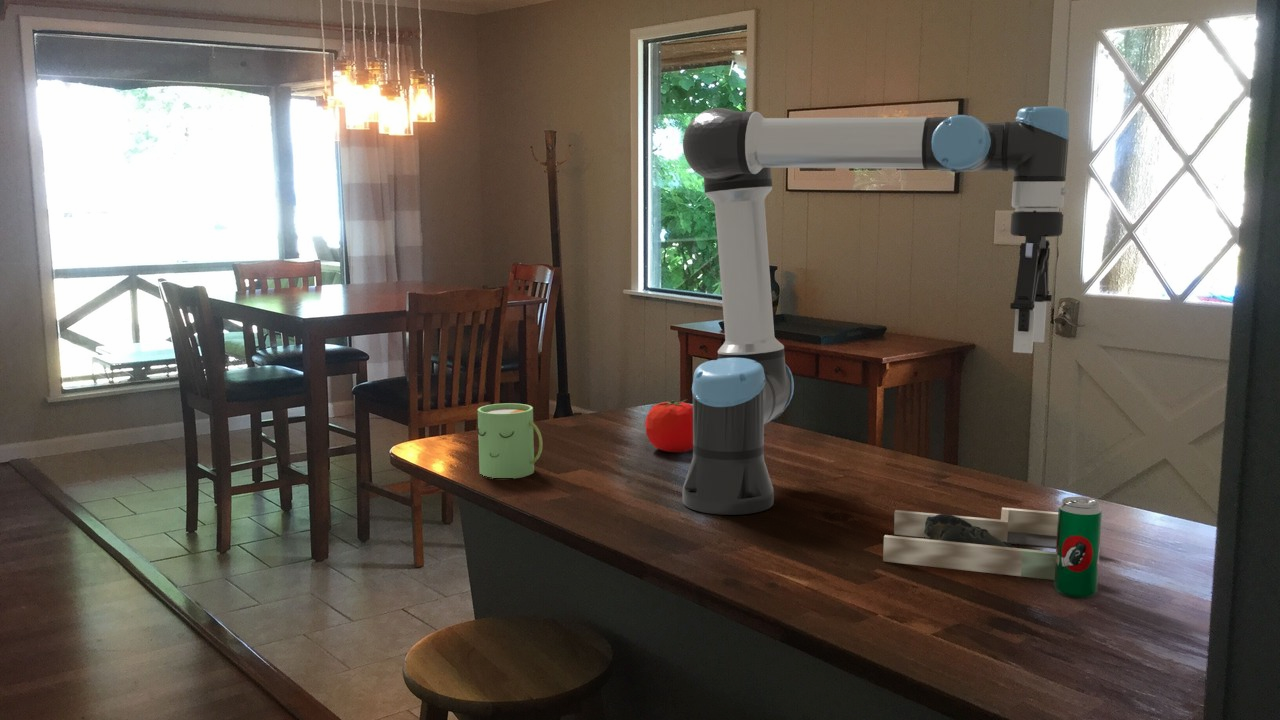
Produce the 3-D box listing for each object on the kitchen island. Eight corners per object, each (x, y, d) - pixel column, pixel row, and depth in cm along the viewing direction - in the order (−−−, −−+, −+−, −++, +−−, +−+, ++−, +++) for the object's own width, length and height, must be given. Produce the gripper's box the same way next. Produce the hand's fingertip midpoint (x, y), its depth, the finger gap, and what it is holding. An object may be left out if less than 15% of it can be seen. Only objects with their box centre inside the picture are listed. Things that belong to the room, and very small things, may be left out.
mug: (468, 476, 192) (466, 412, 190) (496, 463, 202) (495, 401, 200) (529, 482, 187) (527, 417, 186) (555, 469, 197) (554, 406, 195)
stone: (1011, 573, 141) (1014, 535, 141) (915, 553, 149) (917, 517, 148) (1025, 559, 147) (1027, 522, 146) (932, 540, 154) (934, 506, 154)
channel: (883, 561, 146) (883, 537, 145) (899, 520, 164) (900, 498, 164) (1094, 584, 136) (1096, 558, 136) (1086, 537, 155) (1087, 515, 154)
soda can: (1105, 598, 132) (1111, 505, 130) (1069, 601, 131) (1074, 508, 129) (1080, 583, 137) (1085, 494, 135) (1045, 587, 136) (1050, 497, 134)
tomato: (713, 448, 212) (714, 398, 211) (685, 460, 203) (685, 408, 201) (663, 441, 219) (663, 393, 217) (633, 452, 209) (633, 402, 208)
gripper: (1053, 211, 149) (1044, 359, 152) (1072, 209, 170) (1063, 339, 174) (998, 211, 152) (990, 355, 155) (1023, 209, 174) (1016, 336, 177)
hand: (1029, 347), depth 164 cm, fingers open, 13 cm apart
